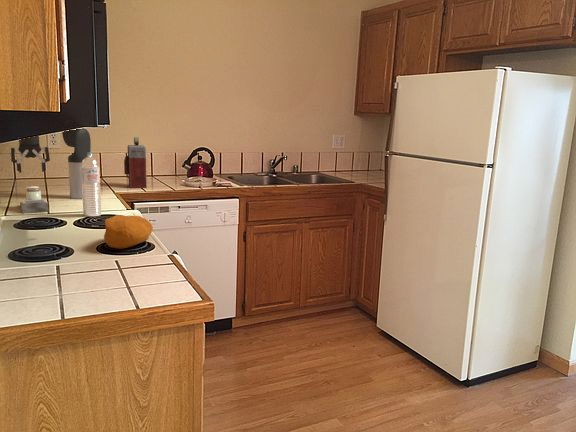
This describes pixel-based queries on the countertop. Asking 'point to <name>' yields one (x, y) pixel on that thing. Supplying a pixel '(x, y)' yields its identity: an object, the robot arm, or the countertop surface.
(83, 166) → the water bottle
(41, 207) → the lane
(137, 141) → the red grey square bottle
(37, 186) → the terracotta jar
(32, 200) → the plate
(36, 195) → the sage jar
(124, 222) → the bread
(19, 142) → the robot arm
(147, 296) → the countertop surface
